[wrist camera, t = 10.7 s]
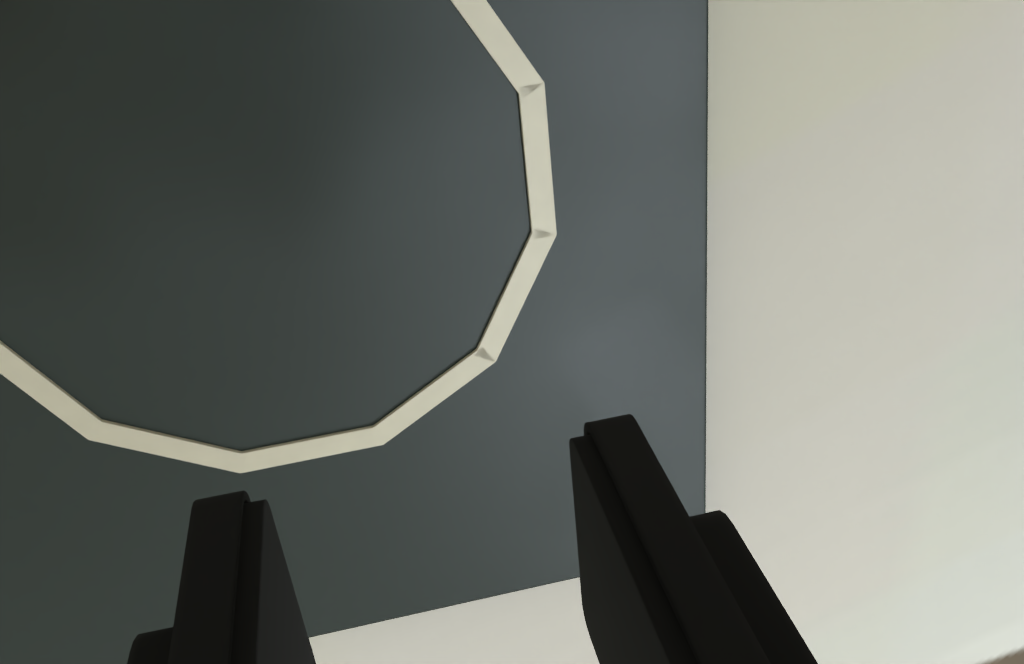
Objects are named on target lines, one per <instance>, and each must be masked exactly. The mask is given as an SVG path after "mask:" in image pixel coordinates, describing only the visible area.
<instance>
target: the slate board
mask: <svg viewBox="0 0 1024 664" xmlns="http://www.w3.org/2000/svg"><path fill="white" fill-rule="evenodd" d="M707 120H708V0H0V664H127V662H128V657H129V653H130V650H131V646H132V643H133V641H134V639H135V638H136V637H137V635H138V634H142V633H147V632H151V631H156V630H161V629H165V628H170V627H173V625H174V619H175V612H176V606H177V599H178V593H179V586H180V580H181V573H182V567H183V560H184V554H185V547H186V541H187V534H188V528H189V521H190V515H191V508H192V505H193V502H194V501H195V500H197V499H202V498H207V497H212V496H217V495H223V494H228V493H233V492H238V491H243V490H244V491H246V492H247V493H248V495H249V497H250V500H251V502H254V501H259V500H264V499H266V500H267V501H268V503H269V506H270V509H271V512H272V515H273V519H274V522H275V526H276V529H277V532H278V536H279V539H280V543H281V546H282V550H283V553H284V556H285V560H286V563H287V567H288V570H289V573H290V577H291V580H292V584H293V587H294V591H295V594H296V597H297V601H298V604H299V608H300V611H301V614H302V618H303V621H304V625H305V628H306V631H307V635H308V638H309V637H314V636H318V635H323V634H327V633H332V632H336V631H341V630H345V629H349V628H354V627H358V626H363V625H367V624H372V623H376V622H381V621H385V620H390V619H394V618H399V617H403V616H408V615H412V614H416V613H421V612H425V611H430V610H434V609H439V608H443V607H448V606H452V605H457V604H461V603H466V602H470V601H475V600H479V599H483V598H488V597H492V596H497V595H501V594H506V593H510V592H515V591H519V590H524V589H528V588H533V587H537V586H542V585H546V584H550V583H555V582H559V581H564V580H568V579H573V578H577V577H580V571H579V559H578V546H577V534H576V522H575V510H574V498H573V486H572V473H571V461H570V449H569V442H570V439H571V438H574V437H579V436H584V424H585V423H586V422H591V421H596V420H601V419H606V418H612V417H617V416H622V415H627V414H631V415H633V417H634V418H635V419H636V421H637V423H638V425H639V426H640V428H641V430H642V432H643V434H644V435H645V437H646V439H647V441H648V443H649V444H650V446H651V448H652V450H653V452H654V454H655V455H656V457H657V459H658V461H659V463H660V464H661V466H662V468H663V470H664V472H665V473H666V475H667V477H668V479H669V481H670V482H671V484H672V486H673V488H674V490H675V492H676V493H677V495H678V497H679V499H680V501H681V502H682V504H683V506H684V508H685V510H686V511H687V513H688V515H689V517H690V516H695V515H699V514H704V513H705V477H706V299H707Z"/></svg>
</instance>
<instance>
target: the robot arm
mask: <svg viewBox="0 0 1024 664" xmlns="http://www.w3.org/2000/svg"><path fill="white" fill-rule="evenodd" d="M569 449H570V461H571V473H572V486H573V498H574V510H575V522H576V534H577V546H578V559H579V571H580V583H581V595H582V605H583V611H584V616H585V621H586V625H587V628H588V632H589V635H590V638H591V641H592V643H593V646H594V649H595V652H596V655H597V658H598V660H599V663H600V664H818V663H817V662H816V660H815V658H814V657H813V655H812V653H811V652H810V650H809V648H808V647H807V645H806V643H805V642H804V640H803V638H802V637H801V635H800V634H799V632H798V630H797V629H796V627H795V625H794V624H793V622H792V620H791V619H790V617H789V615H788V614H787V612H786V610H785V609H784V607H783V606H782V604H781V602H780V601H779V599H778V597H777V596H776V594H775V592H774V591H773V589H772V587H771V586H770V584H769V582H768V581H767V579H766V578H765V576H764V574H763V573H762V571H761V569H760V568H759V566H758V564H757V563H756V561H755V559H754V558H753V556H752V555H751V553H750V551H749V550H748V548H747V546H746V545H745V543H744V541H743V540H742V538H741V536H740V535H739V533H738V531H737V530H736V528H735V527H734V525H733V523H732V522H731V521H730V519H729V518H728V517H727V515H726V514H725V513H723V512H721V511H720V510H718V511H713V512H709V513H704V514H699V515H695V516H690V517H689V515H688V513H687V511H686V510H685V508H684V506H683V504H682V502H681V501H680V499H679V497H678V495H677V493H676V492H675V490H674V488H673V486H672V484H671V482H670V481H669V479H668V477H667V475H666V473H665V472H664V470H663V468H662V466H661V464H660V463H659V461H658V459H657V457H656V455H655V454H654V452H653V450H652V448H651V446H650V444H649V443H648V441H647V439H646V437H645V435H644V434H643V432H642V430H641V428H640V426H639V425H638V423H637V421H636V419H635V418H634V417H633V415H631V414H627V415H622V416H617V417H612V418H606V419H601V420H596V421H591V422H586V423H585V424H584V436H579V437H574V438H571V439H570V442H569ZM127 664H316V663H315V659H314V655H313V652H312V649H311V645H310V642H309V638H308V635H307V631H306V628H305V625H304V621H303V618H302V614H301V611H300V608H299V604H298V601H297V597H296V594H295V591H294V587H293V584H292V580H291V577H290V573H289V570H288V567H287V563H286V560H285V556H284V553H283V550H282V546H281V543H280V539H279V536H278V532H277V529H276V526H275V522H274V519H273V515H272V512H271V509H270V506H269V503H268V501H267V500H266V499H264V500H259V501H254V502H251V500H250V497H249V495H248V493H247V492H246V491H244V490H243V491H238V492H233V493H228V494H223V495H217V496H212V497H207V498H202V499H197V500H195V501H194V502H193V505H192V508H191V515H190V521H189V528H188V534H187V541H186V547H185V554H184V560H183V567H182V573H181V580H180V586H179V593H178V599H177V606H176V612H175V619H174V625H173V627H170V628H165V629H161V630H156V631H151V632H147V633H142V634H138V635H137V637H136V638H135V639H134V641H133V643H132V646H131V650H130V653H129V657H128V662H127Z"/></svg>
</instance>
